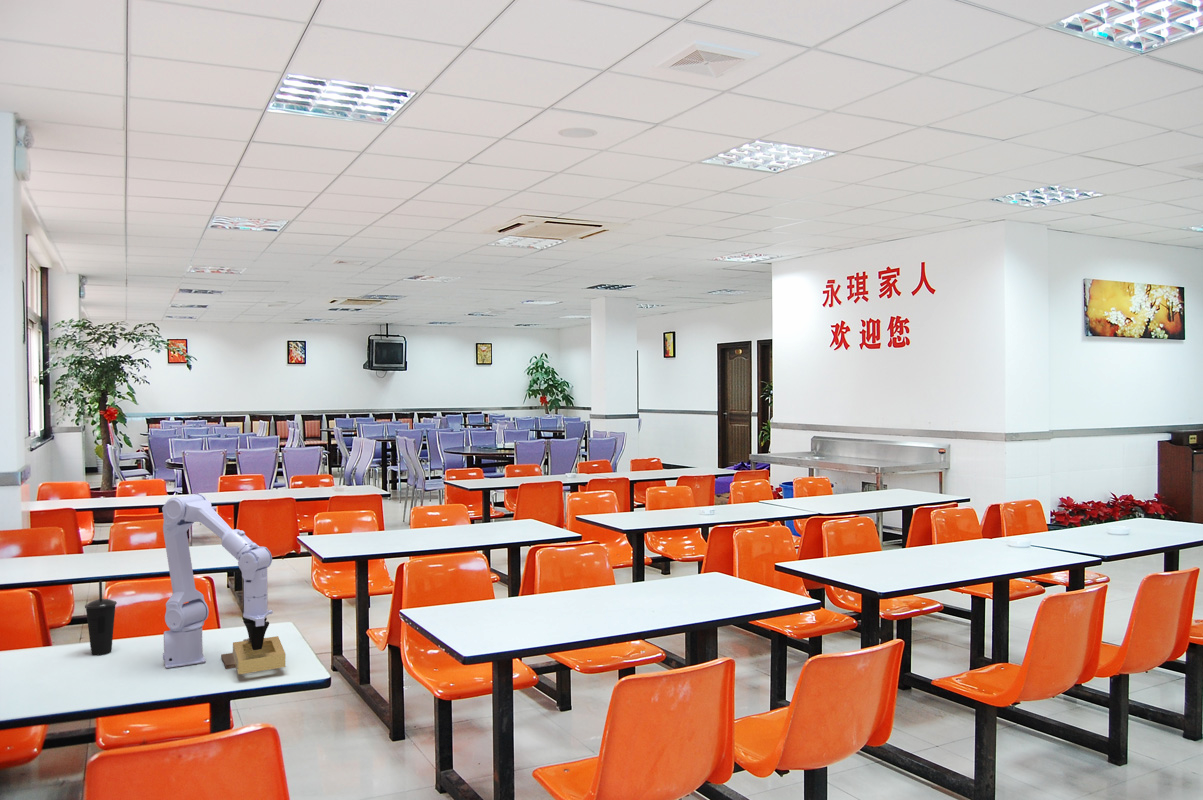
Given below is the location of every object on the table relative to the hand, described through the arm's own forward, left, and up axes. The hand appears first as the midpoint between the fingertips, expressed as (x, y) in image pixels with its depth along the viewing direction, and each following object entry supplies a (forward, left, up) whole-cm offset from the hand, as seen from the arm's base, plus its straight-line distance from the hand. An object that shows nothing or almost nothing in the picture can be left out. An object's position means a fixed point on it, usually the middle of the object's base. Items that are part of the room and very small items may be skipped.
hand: (256, 648), depth 224 cm
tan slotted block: (0, -4, -2) cm, 5 cm away
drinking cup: (-35, +38, -5) cm, 52 cm away
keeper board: (0, +9, -5) cm, 10 cm away
